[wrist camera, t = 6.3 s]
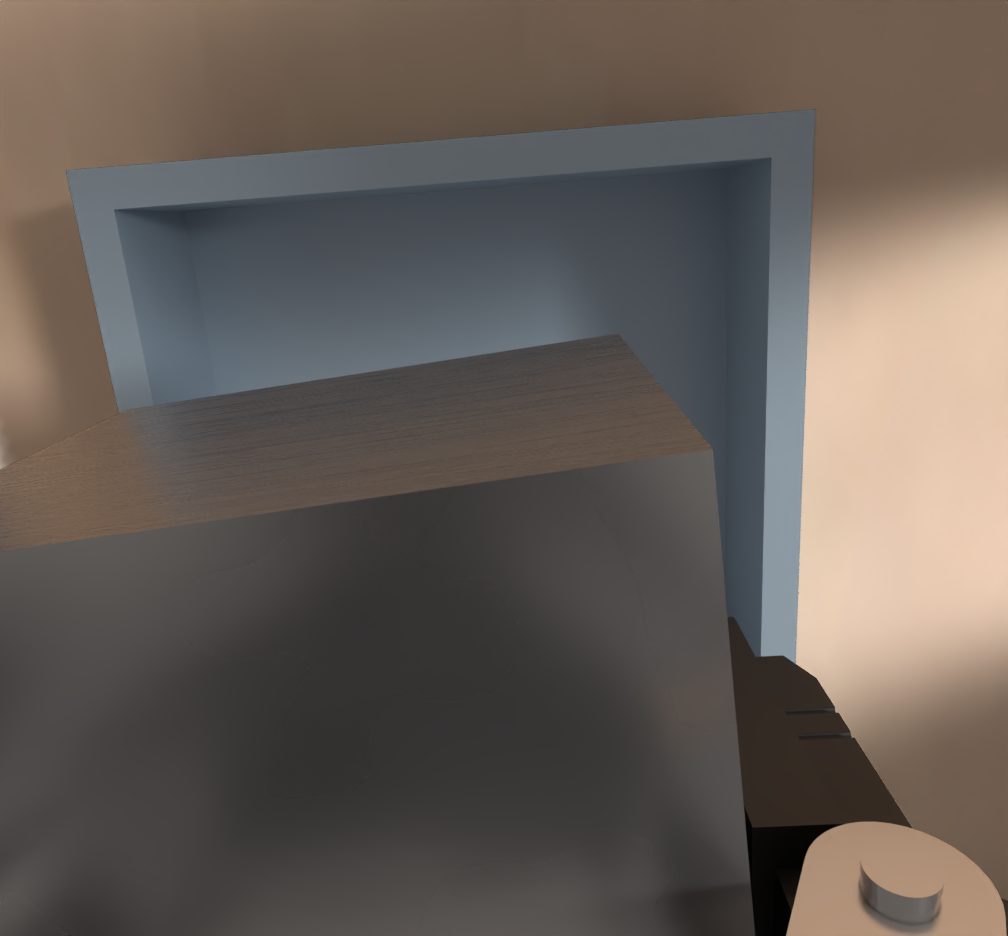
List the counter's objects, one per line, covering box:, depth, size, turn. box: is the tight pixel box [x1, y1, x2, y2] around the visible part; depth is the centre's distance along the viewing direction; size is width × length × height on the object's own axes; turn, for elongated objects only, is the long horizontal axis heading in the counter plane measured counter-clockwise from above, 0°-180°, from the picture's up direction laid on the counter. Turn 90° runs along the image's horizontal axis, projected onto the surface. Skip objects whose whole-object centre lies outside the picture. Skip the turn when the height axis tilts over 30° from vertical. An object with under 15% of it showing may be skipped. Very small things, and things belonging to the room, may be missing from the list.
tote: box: [66, 109, 815, 664], centre depth 20 cm, size 15×15×4 cm
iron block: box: [0, 334, 755, 936], centre depth 8 cm, size 6×8×5 cm
